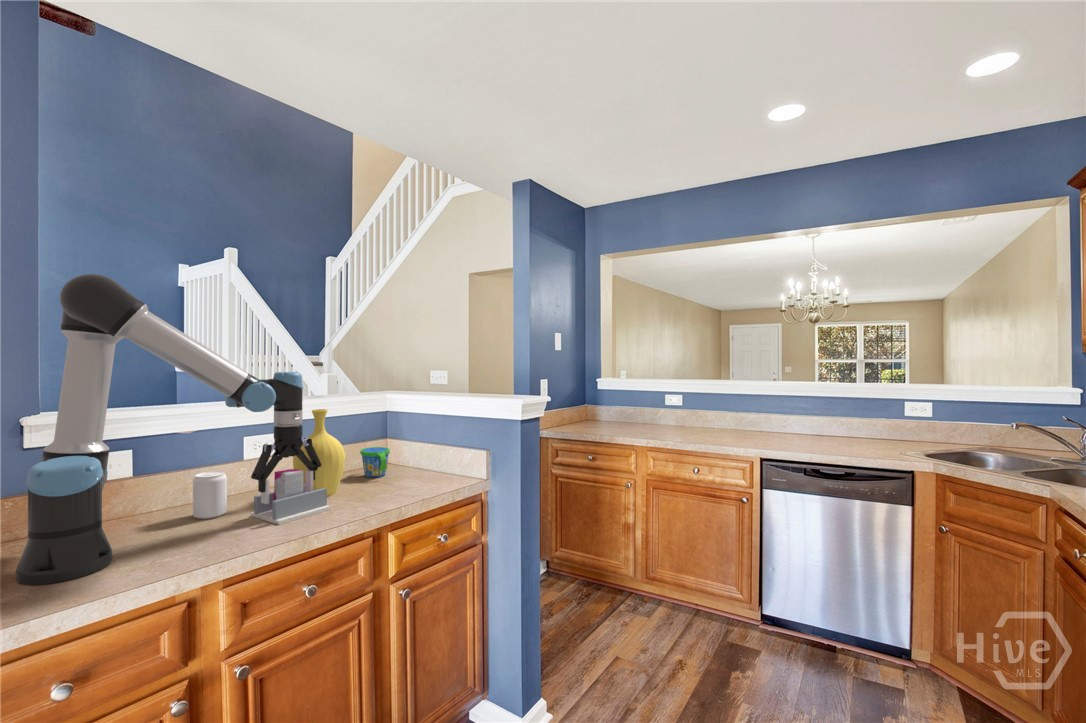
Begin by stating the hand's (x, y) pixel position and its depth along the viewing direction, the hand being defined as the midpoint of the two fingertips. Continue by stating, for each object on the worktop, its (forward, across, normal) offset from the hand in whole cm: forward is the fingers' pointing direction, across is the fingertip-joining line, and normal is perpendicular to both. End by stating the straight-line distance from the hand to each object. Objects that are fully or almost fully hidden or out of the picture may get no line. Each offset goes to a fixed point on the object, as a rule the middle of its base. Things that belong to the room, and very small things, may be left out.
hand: (288, 497), depth 148 cm
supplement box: (+4, 0, 0) cm, 4 cm away
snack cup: (+5, +45, +15) cm, 47 cm away
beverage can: (+5, -13, +17) cm, 22 cm away
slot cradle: (+5, +1, 0) cm, 5 cm away
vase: (+5, +18, +11) cm, 22 cm away
